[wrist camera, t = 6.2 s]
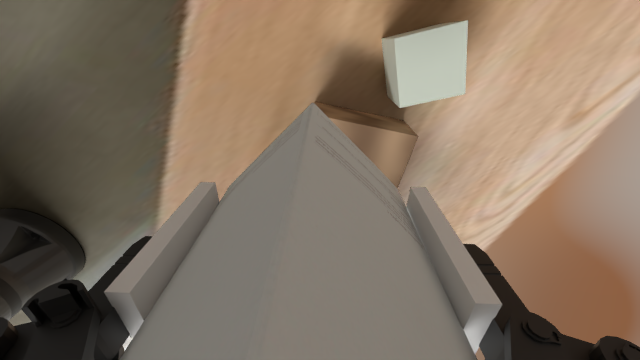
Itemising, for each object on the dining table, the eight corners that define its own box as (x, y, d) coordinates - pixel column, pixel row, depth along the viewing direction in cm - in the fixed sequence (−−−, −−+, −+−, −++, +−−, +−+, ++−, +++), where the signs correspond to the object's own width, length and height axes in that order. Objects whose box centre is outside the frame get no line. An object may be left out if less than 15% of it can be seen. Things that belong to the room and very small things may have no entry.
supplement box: (225, 186, 15) (-41, 572, 4) (314, 97, 13) (224, 495, 2) (313, 253, 18) (288, 610, 7) (402, 191, 15) (604, 604, 4)
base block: (299, 180, 36) (295, 204, 31) (314, 101, 31) (312, 114, 25) (375, 194, 37) (384, 220, 32) (403, 120, 32) (418, 136, 26)
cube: (387, 95, 30) (399, 108, 25) (381, 38, 27) (394, 38, 22) (440, 84, 29) (465, 93, 24) (440, 23, 26) (468, 20, 21)
